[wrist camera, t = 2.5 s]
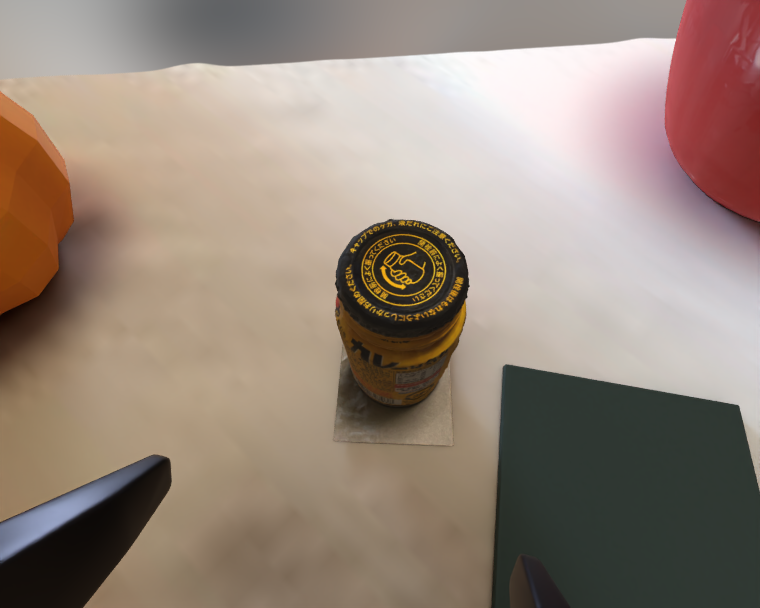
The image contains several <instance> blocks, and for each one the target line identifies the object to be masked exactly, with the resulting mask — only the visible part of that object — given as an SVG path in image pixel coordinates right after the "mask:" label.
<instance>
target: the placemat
mask: <svg viewBox="0 0 760 608" xmlns="http://www.w3.org/2000/svg"><path fill="white" fill-rule="evenodd" d="M520 554H526V555H529V556H533V557H536V558H538V559H539V560H540V561H541V562H542V564H543V565H544V567H545V568H546V570H547V572H548V573H549V575H550V576H551V578H552V579H553V581H554V582H555V584H556V585H557V587H558V588H559V590H560V591H561V593H562V595H563V596H564V598H565V599H566V601H567V602H568V604H569V605H570V607H571V608H760V491H759V487H758V483H757V479H756V474H755V470H754V466H753V462H752V458H751V454H750V450H749V445H748V441H747V437H746V433H745V429H744V425H743V420H742V416H741V412H740V408H739V405H734V404H729V403H723V402H717V401H712V400H706V399H700V398H694V397H689V396H683V395H677V394H672V393H666V392H660V391H655V390H649V389H643V388H638V387H632V386H626V385H621V384H615V383H609V382H604V381H598V380H592V379H587V378H581V377H575V376H570V375H564V374H558V373H553V372H547V371H541V370H536V369H530V368H524V367H518V366H513V365H507V364H506V365H505V366H504V367H503V382H502V403H501V424H500V445H499V466H498V487H497V508H496V529H495V550H494V571H493V592H492V608H510V592H509V584H510V577H511V574H512V572H513V569H514V566H515V564H516V561H517V558H518V556H519V555H520Z"/></svg>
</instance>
